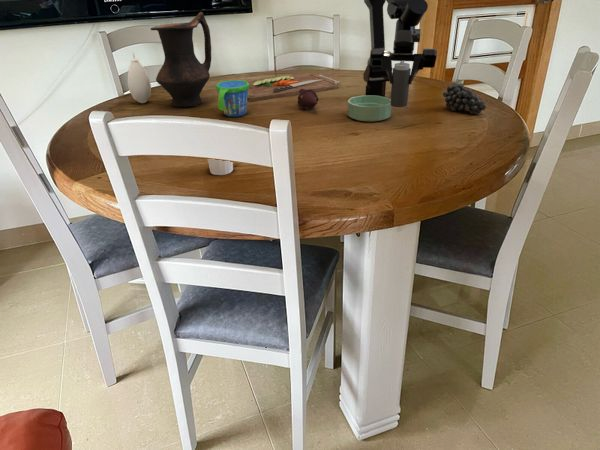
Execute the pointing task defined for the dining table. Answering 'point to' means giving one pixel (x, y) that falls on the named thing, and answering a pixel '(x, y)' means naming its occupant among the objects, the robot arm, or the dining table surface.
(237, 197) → the dining table surface
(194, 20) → the jug
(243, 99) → the snack cup
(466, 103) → the fruit
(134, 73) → the teardrop candle
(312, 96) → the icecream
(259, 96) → the chopping board
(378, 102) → the bowl
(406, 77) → the pepper mill
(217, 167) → the shot glass
